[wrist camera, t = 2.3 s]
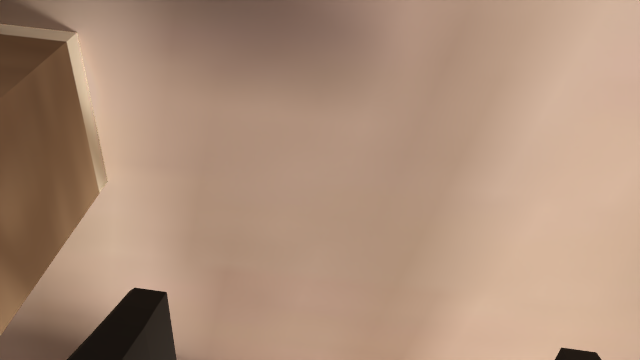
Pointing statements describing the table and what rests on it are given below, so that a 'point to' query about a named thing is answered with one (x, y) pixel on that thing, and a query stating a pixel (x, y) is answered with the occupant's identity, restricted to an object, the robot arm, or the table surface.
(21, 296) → the walnut block
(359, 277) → the table surface
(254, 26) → the table surface
